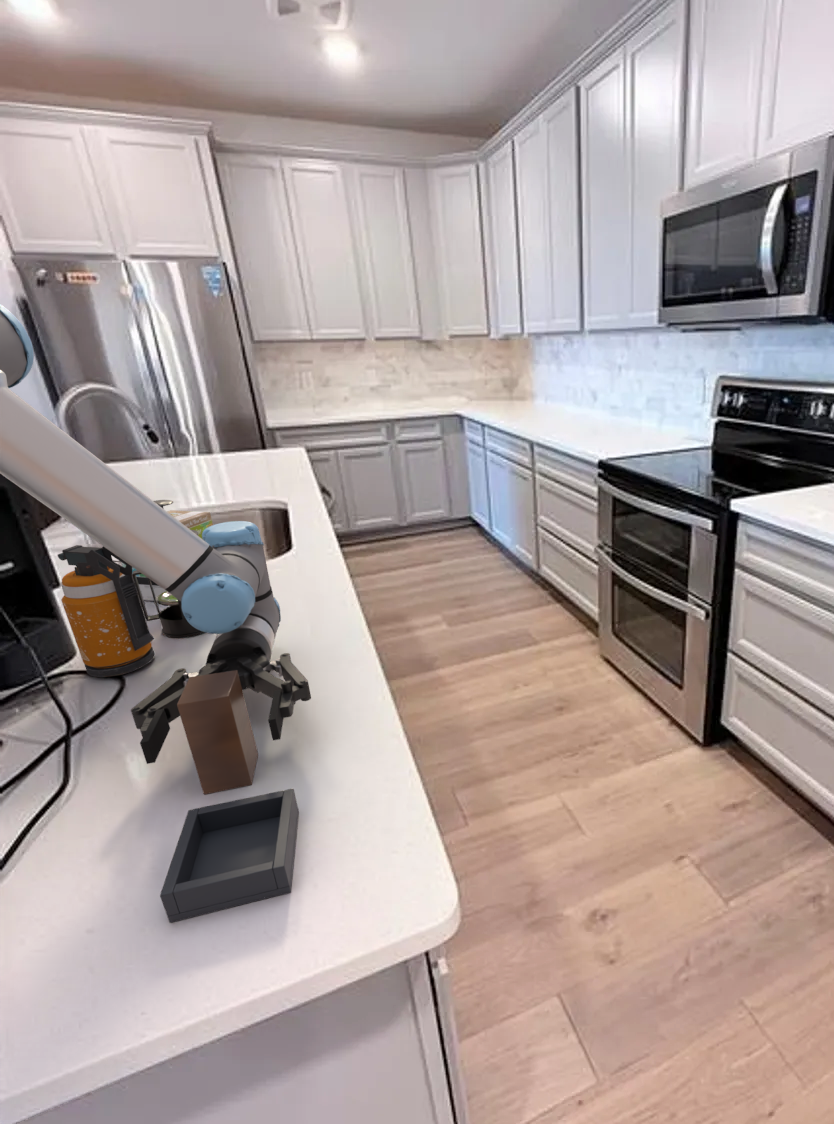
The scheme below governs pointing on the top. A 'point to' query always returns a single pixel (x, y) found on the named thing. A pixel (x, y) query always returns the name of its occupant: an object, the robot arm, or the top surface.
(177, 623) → the french press
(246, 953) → the top surface
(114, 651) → the canister
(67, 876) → the top surface
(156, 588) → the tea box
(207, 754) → the brown rectangular block
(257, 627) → the robot arm
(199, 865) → the socket pad
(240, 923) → the top surface
